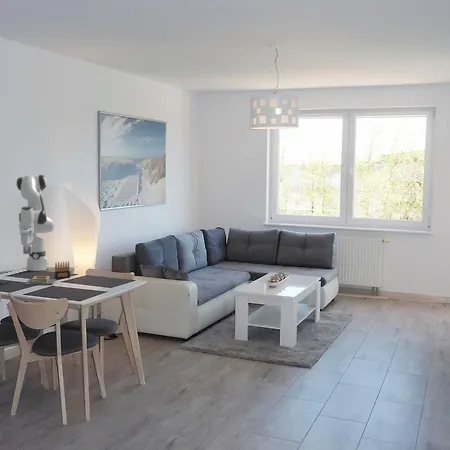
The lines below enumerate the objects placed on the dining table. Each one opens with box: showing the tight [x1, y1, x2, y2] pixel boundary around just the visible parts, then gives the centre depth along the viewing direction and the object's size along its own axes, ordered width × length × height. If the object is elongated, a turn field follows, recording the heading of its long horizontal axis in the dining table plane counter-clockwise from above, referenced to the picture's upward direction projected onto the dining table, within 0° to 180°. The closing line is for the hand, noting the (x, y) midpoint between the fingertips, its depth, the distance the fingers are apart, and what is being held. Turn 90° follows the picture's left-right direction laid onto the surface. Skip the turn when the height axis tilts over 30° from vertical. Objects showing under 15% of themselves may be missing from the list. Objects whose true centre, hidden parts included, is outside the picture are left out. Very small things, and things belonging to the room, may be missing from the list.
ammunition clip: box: [54, 260, 71, 280], centre depth 421 cm, size 11×2×12 cm, turn 120°
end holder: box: [24, 275, 57, 286], centre depth 405 cm, size 16×18×4 cm
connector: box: [22, 245, 32, 255], centre depth 411 cm, size 4×5×6 cm
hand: (27, 249), depth 411 cm, fingers closed on connector, 4 cm apart
